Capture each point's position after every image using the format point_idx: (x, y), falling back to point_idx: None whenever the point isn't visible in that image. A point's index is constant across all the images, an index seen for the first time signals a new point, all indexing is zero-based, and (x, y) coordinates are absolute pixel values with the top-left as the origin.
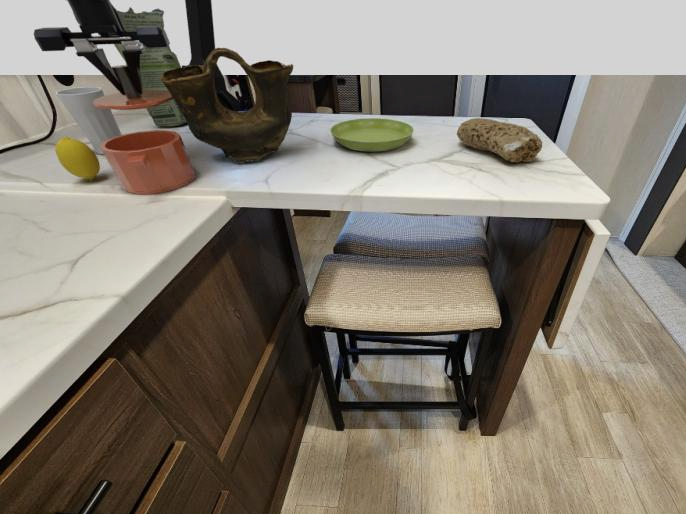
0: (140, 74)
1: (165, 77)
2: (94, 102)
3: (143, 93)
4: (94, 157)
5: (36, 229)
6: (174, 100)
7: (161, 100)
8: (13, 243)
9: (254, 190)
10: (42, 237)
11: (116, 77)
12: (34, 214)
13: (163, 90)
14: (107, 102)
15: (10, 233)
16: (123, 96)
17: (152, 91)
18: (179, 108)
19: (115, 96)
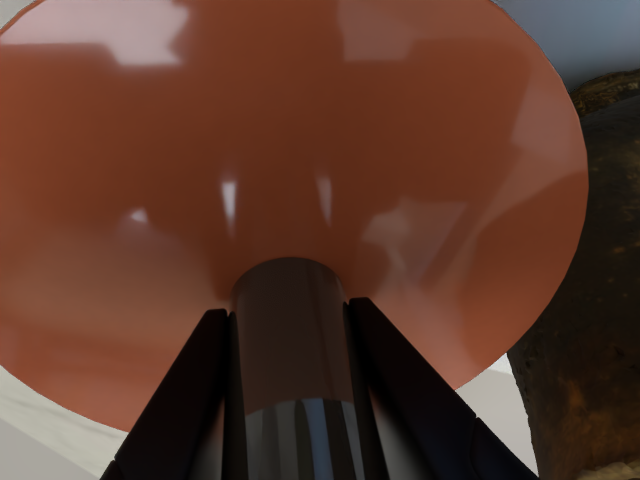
0: (462, 409)
1: (624, 438)
2: (32, 383)
3: (343, 171)
4: None
5: (82, 430)
6: (522, 375)
7: (458, 386)
8: (75, 455)
9: (493, 366)
10: (116, 447)
11: (208, 441)
12: (21, 388)
13: (553, 73)
14: (136, 391)
15: (37, 435)
16: (176, 250)
17: (435, 88)
18: (509, 351)
19: (92, 237)
